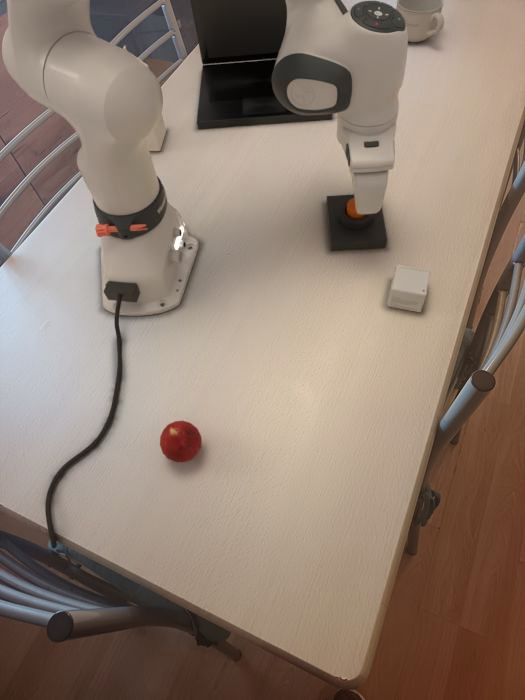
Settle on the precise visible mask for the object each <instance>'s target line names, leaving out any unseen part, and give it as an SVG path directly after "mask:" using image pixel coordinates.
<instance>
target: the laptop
mask: <svg viewBox="0 0 525 700" xmlns="http://www.w3.org/2000/svg"><path fill="white" fill-rule="evenodd" d="M276 60H277V59H265V60H253V61H241V62H229V63H216V64H204V65H203V64H202V68H201V76H200V77H201V80H200V86H199V87H200V88H199V98H198V106H197V118H196V125H197V129H198V130H203V129H204V130H205V129H216V128H218V129H219V128H232V127H243V126H245V127H246V126H259V125H272V124H273V125H274V124H284V123H285V124H287V123H298V122H299V123H300V122H312V121H327V120H333V114H324V115H300V114H296V113H293V112H291V111H289V110H288V109H287V108H285V107H284V106H283V105H282V104H281V103H280V102H279V100H278V99H277V97H276V96H275V93H274V91H273V87H272V73H273V70H274V67H275V63H276Z"/></svg>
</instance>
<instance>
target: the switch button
mask: <svg viewBox="0 0 525 700" xmlns="http://www.w3.org/2000/svg"><path fill="white" fill-rule="evenodd" d="M347 214H348V216H350V217H352V218H355V219H356V218H362V217H364V216H365V215H366V214H357V212H356V206H355V199H354V198H352V199H350V200H349V201H348V203H347Z"/></svg>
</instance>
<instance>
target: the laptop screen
mask: <svg viewBox="0 0 525 700" xmlns="http://www.w3.org/2000/svg"><path fill="white" fill-rule="evenodd" d="M190 6H191V11H192V16H193V21H194V26H195V32H196V38H197V42H198V43H197V44H198V48H199V54H200V59H201V64H202V66H203V65H211V64H224V63H236V62H248V61H260V60H272V59H277V57H278V53H279V50H280V48H281V45H282V42H283V39H284V35H285V30H286V23H287V6H286V1H285V0H190Z"/></svg>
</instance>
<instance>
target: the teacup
mask: <svg viewBox="0 0 525 700" xmlns="http://www.w3.org/2000/svg"><path fill="white" fill-rule="evenodd" d="M444 5H445V1H444V0H396V8H395V9H396V10H398V11H399V12H400V13H401V15H402V16H403V18H404V20H405V22H406V26H407V33H408V43H409V42H410V43H419V42H423V41H425V40H427V39H428V38H431V37H432V36H433V35H437V34H439V33H440V32H441V31H442V30H443V28H444V25H445V18H444V15H443V14H442V10H443V7H444Z"/></svg>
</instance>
